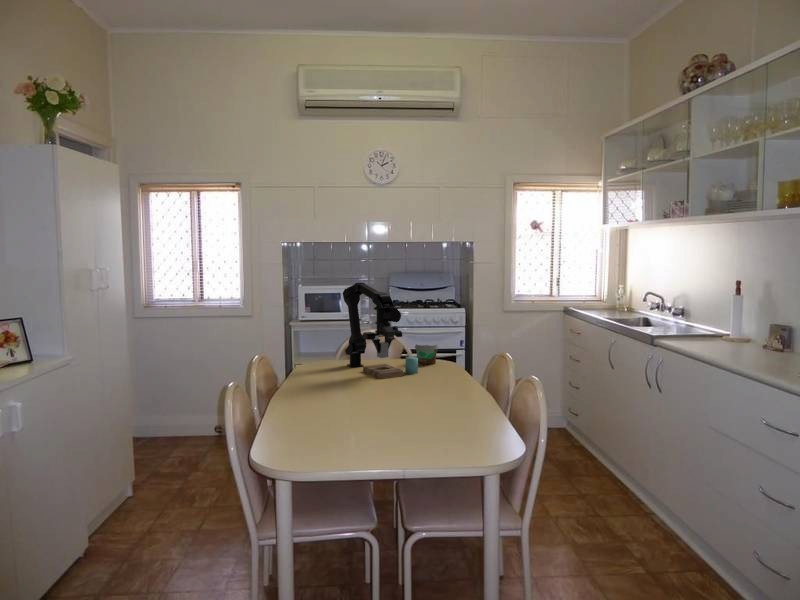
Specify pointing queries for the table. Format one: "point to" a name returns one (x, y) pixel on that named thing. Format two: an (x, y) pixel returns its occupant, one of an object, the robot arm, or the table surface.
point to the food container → (426, 354)
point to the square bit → (383, 350)
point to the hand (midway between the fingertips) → (382, 352)
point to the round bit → (411, 365)
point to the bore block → (383, 371)
